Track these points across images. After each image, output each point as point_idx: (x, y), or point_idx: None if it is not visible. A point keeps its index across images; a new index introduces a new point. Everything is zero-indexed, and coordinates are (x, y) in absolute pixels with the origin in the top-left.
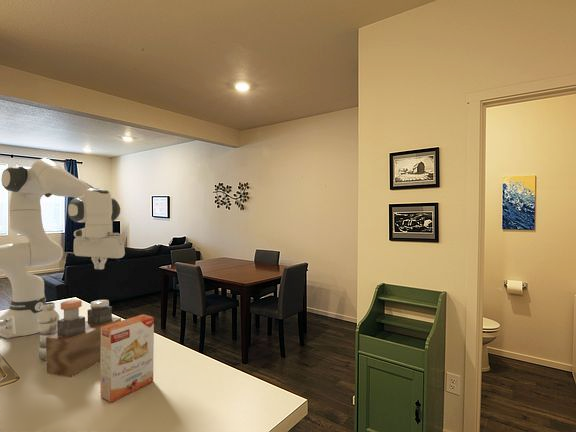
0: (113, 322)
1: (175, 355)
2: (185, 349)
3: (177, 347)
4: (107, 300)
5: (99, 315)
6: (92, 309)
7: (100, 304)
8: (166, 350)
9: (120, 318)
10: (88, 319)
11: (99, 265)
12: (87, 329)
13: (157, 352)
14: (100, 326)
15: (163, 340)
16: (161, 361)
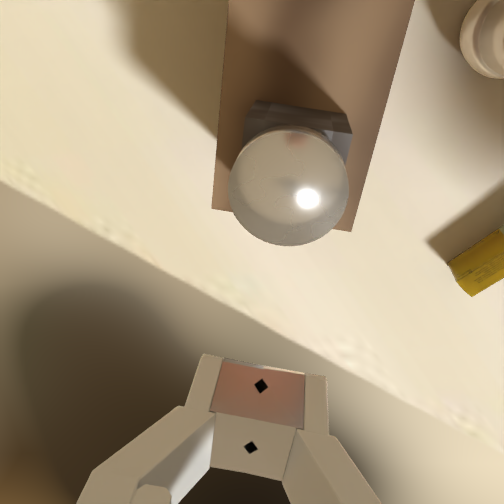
0: (217, 155)
1: (3, 127)
2: (6, 178)
3: (43, 191)
4: (257, 232)
5: (252, 111)
6: None
7: (248, 146)
8: (63, 163)
9: (212, 205)
10: (340, 117)
11: (213, 399)
12: (275, 7)
13: (82, 143)
14: (233, 71)
15: (130, 242)
16: (15, 70)
